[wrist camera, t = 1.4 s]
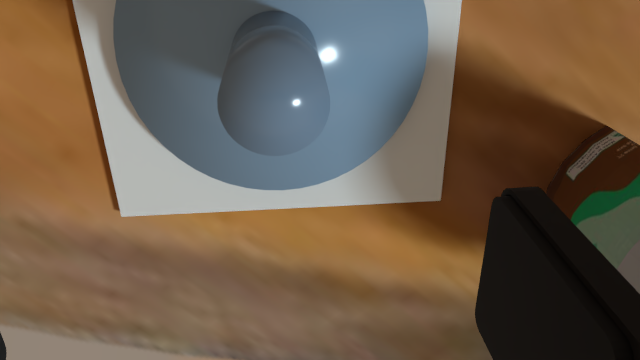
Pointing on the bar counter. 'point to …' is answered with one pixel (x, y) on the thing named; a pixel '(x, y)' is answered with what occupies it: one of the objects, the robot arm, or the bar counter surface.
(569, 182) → the food container
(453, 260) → the bar counter surface
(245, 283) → the bar counter surface
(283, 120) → the lid
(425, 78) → the mat
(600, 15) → the bar counter surface
